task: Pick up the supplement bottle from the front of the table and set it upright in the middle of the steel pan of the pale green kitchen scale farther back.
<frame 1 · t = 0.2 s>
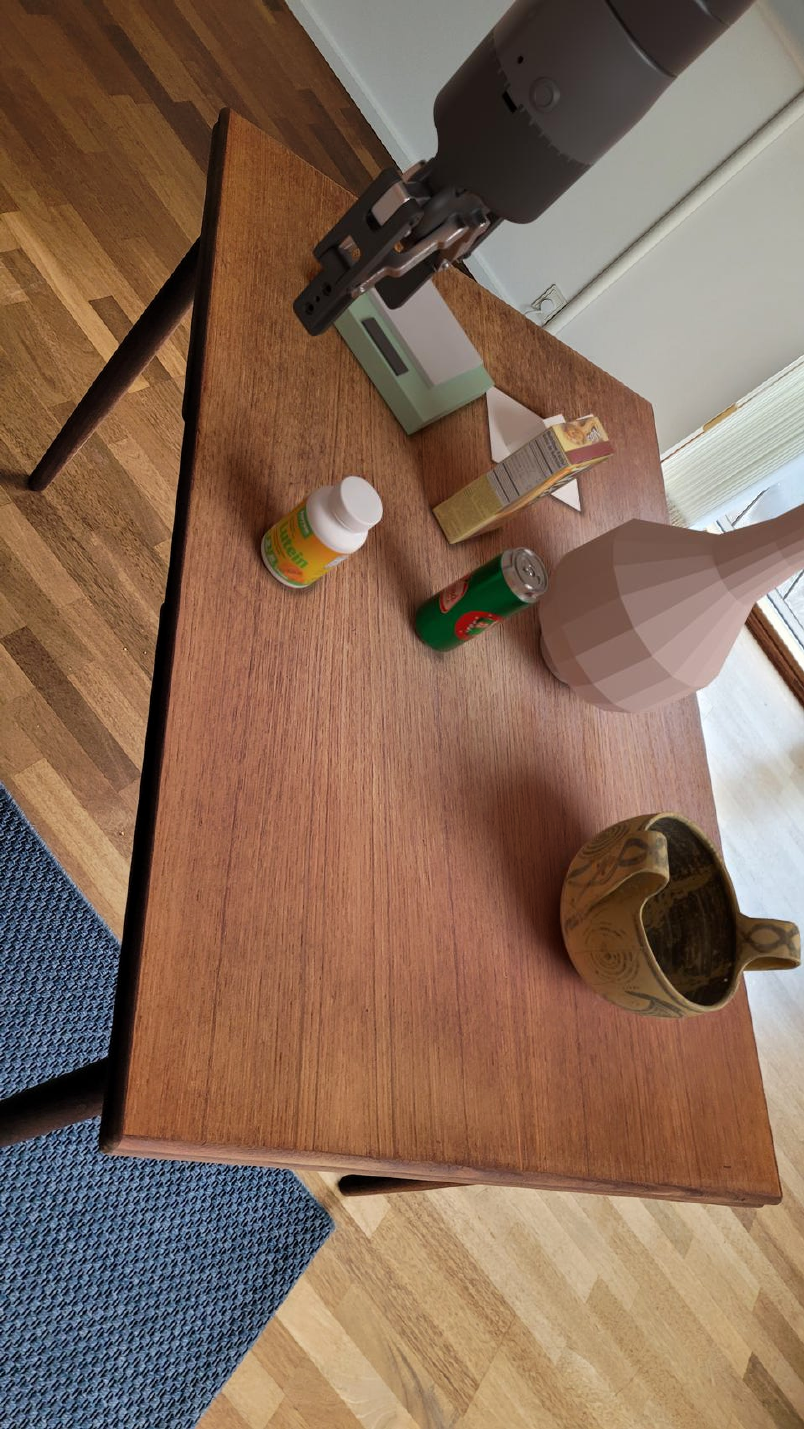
hand: (346, 308, 54), 21 cm above the table, tool pointing down, fingers open, 8 cm apart
supplement bottle: (286, 560, 73), on the table
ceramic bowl: (586, 929, 82), on the table
vase: (559, 655, 94), on the table
napkin holder: (532, 448, 105), on the table
scale: (402, 348, 94), on the table
candy box: (463, 521, 91), on the table
soda can: (430, 629, 82), on the table
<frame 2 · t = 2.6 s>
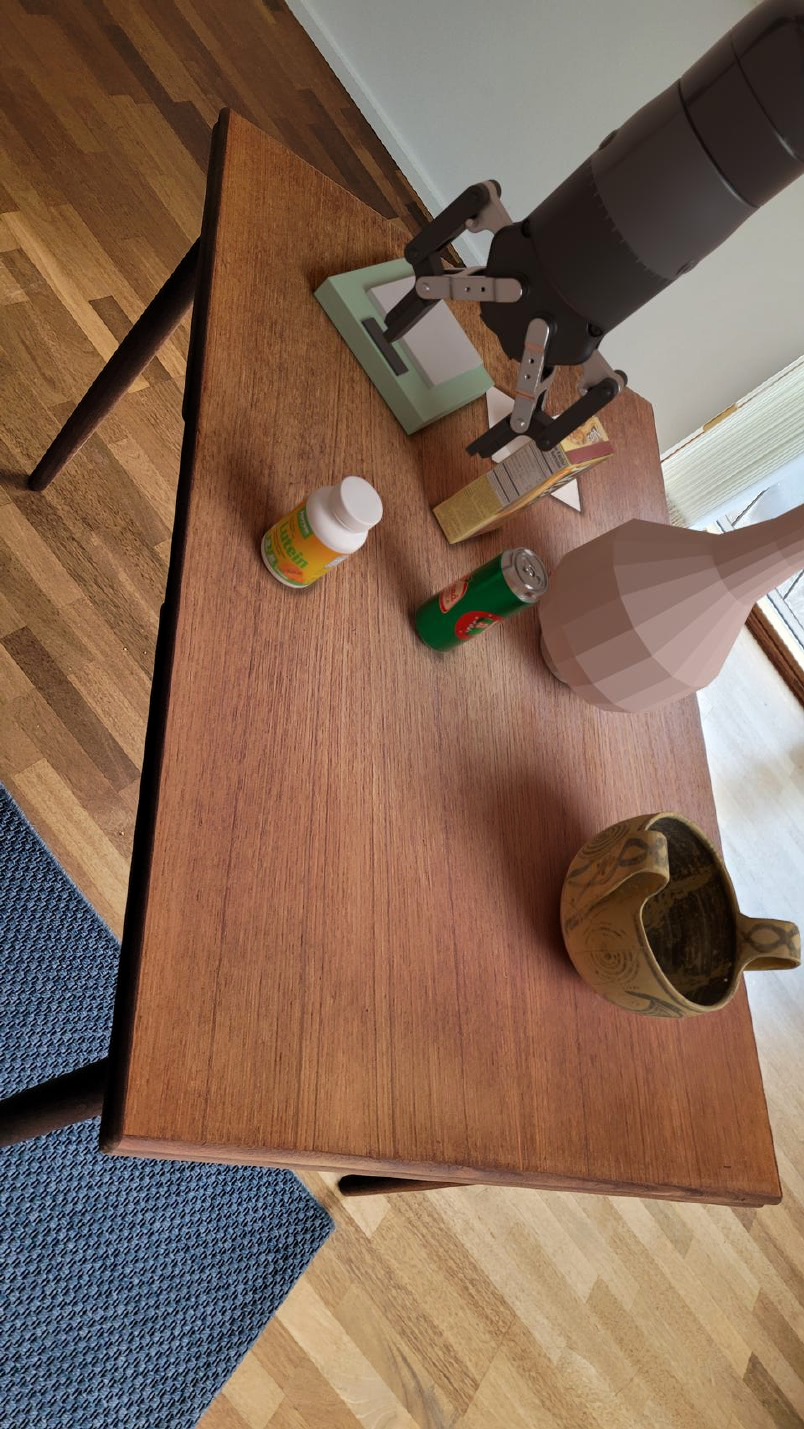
hand: (431, 393, 57), 20 cm above the table, tool pointing down, fingers open, 8 cm apart
nothing on the table moved.
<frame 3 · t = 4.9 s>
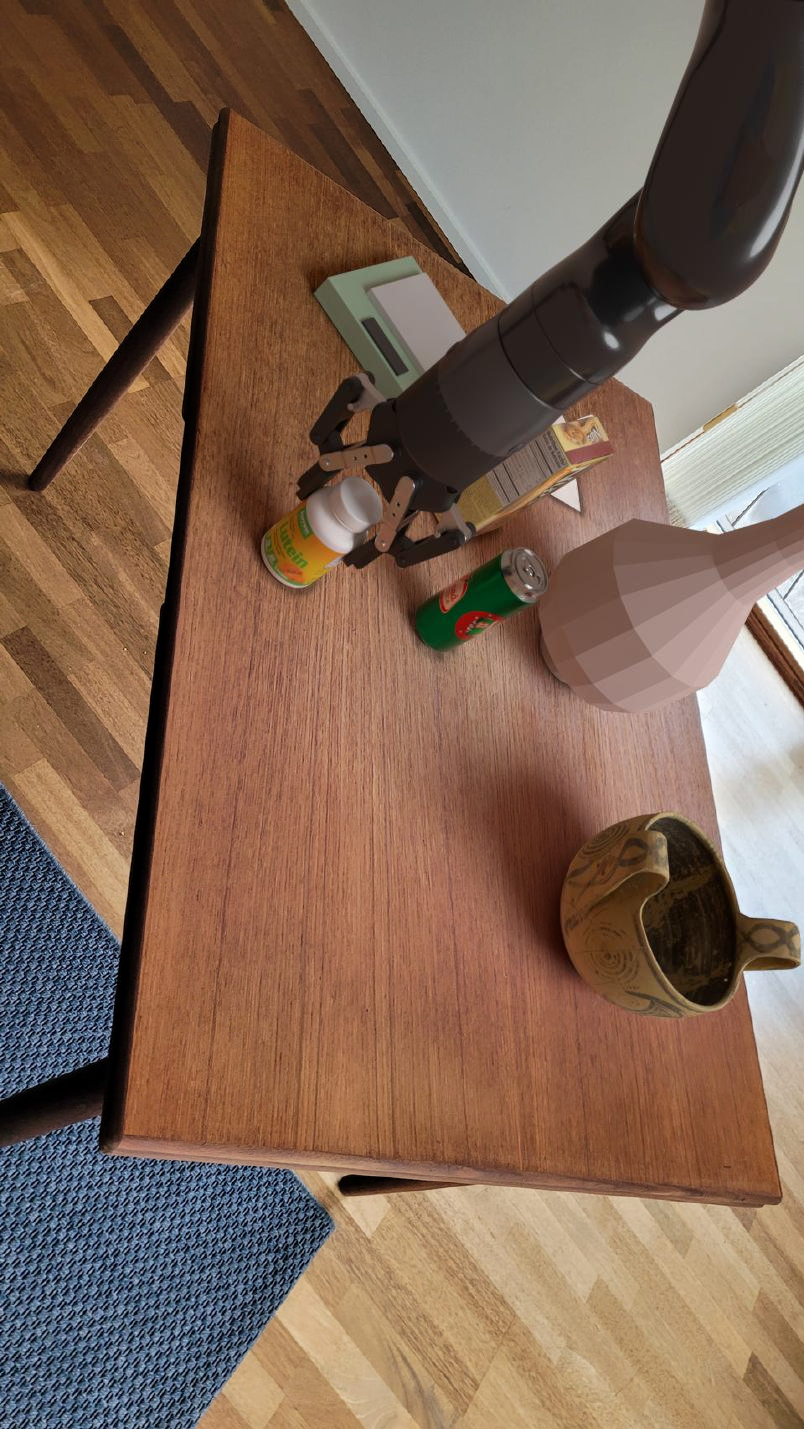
hand: (327, 526, 69), 5 cm above the table, tool pointing down, fingers closed on supplement bottle, 5 cm apart
supplement bottle: (286, 560, 73), on the table, touching gripper
everything else where it was.
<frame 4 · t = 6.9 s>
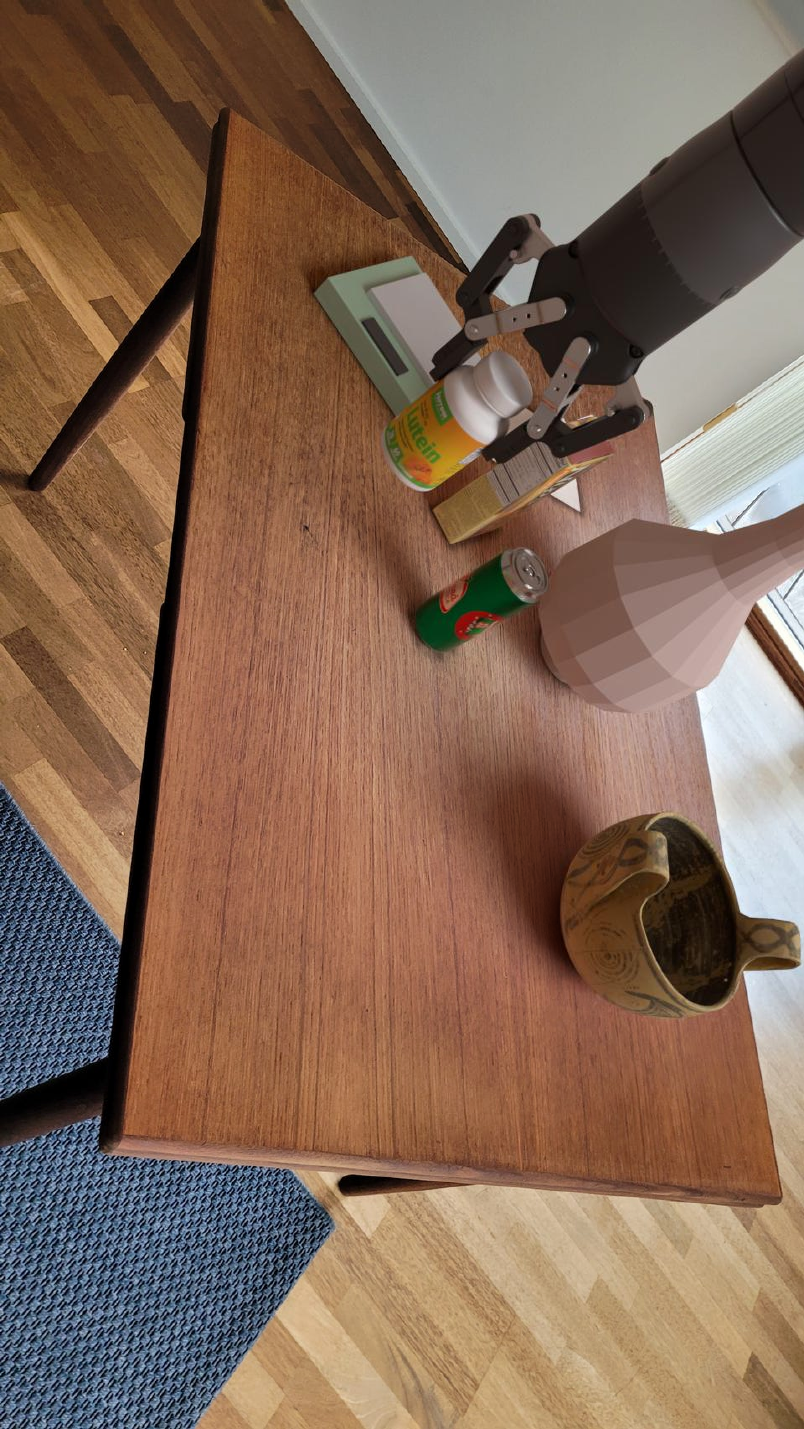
hand: (463, 414, 59), 20 cm above the table, tool pointing down, fingers closed on supplement bottle, 5 cm apart
supplement bottle: (406, 460, 63), point 15 cm above the table, touching gripper
everything else where it was.
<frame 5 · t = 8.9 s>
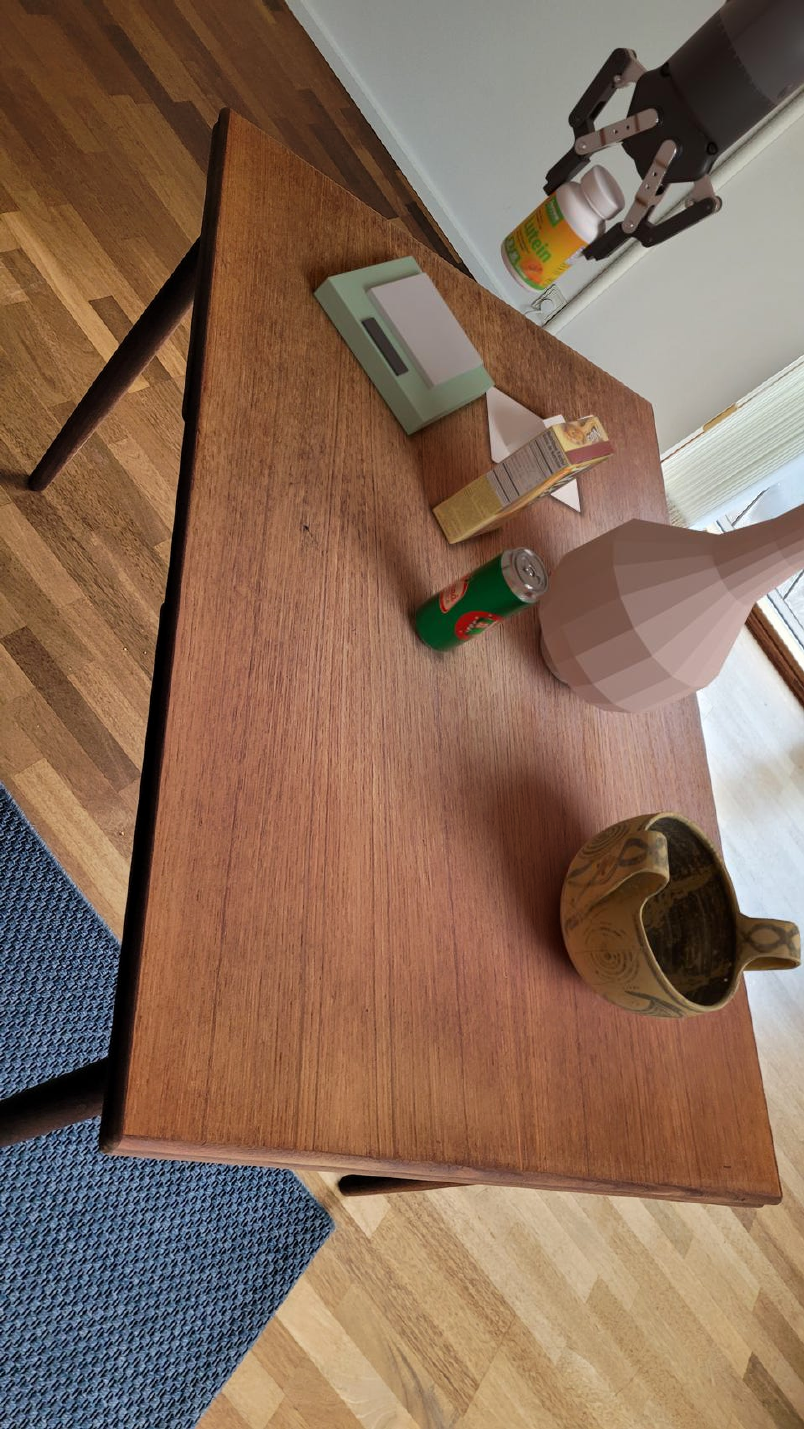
hand: (568, 223, 75), 23 cm above the table, tool pointing down, fingers closed on supplement bottle, 5 cm apart
supplement bottle: (518, 269, 79), point 17 cm above the table, touching gripper
everything else where it was.
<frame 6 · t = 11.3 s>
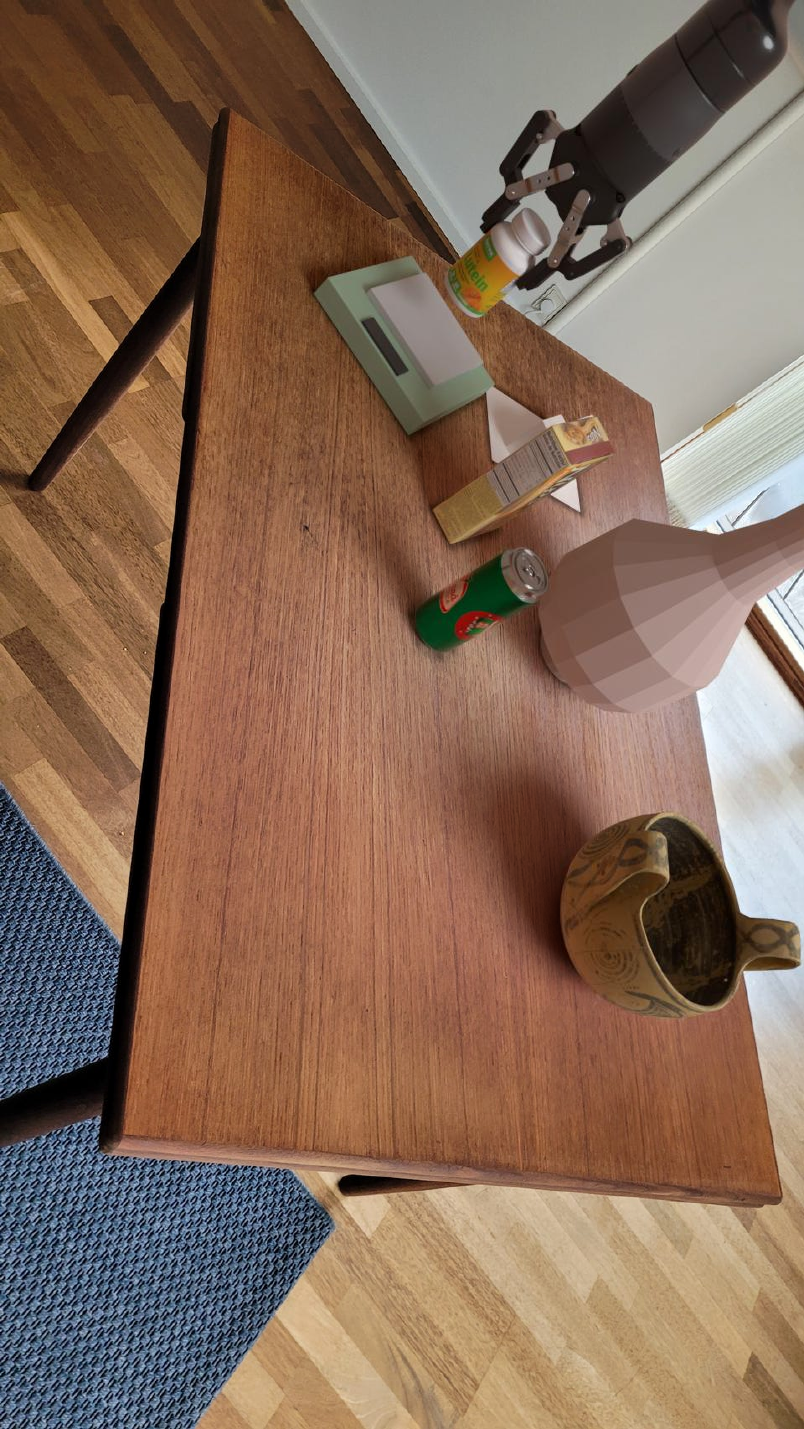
hand: (503, 257, 85), 14 cm above the table, tool pointing down, fingers closed on supplement bottle, 5 cm apart
supplement bottle: (461, 296, 89), point 8 cm above the table, touching gripper
everything else where it was.
when the fingers open (9 cm above the table, at t = 13.0 s): supplement bottle stays where it is, resting on scale.
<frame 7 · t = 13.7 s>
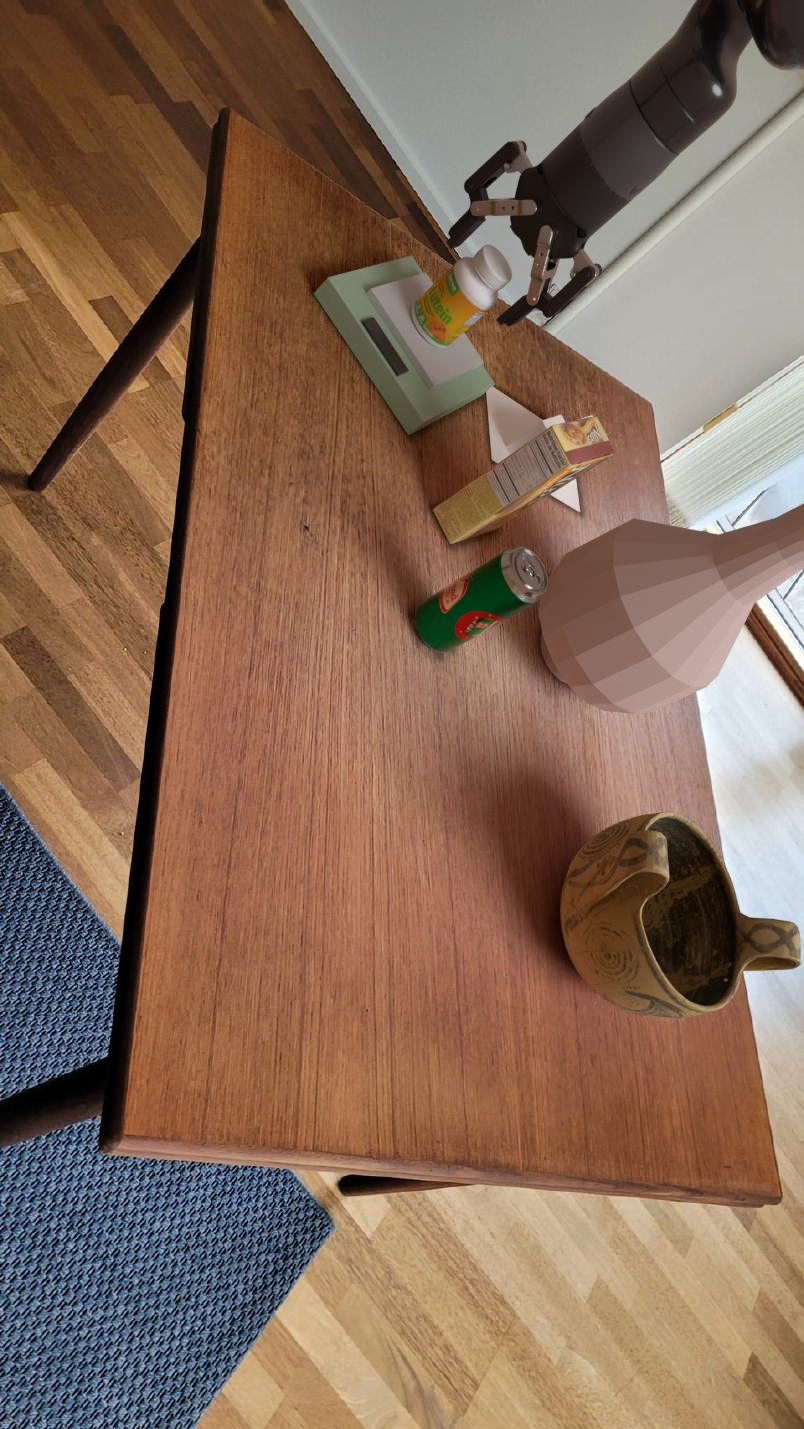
hand: (476, 283, 88), 10 cm above the table, tool pointing down, fingers open, 8 cm apart
supplement bottle: (428, 327, 93), point 3 cm above the table, touching scale
everything else where it was.
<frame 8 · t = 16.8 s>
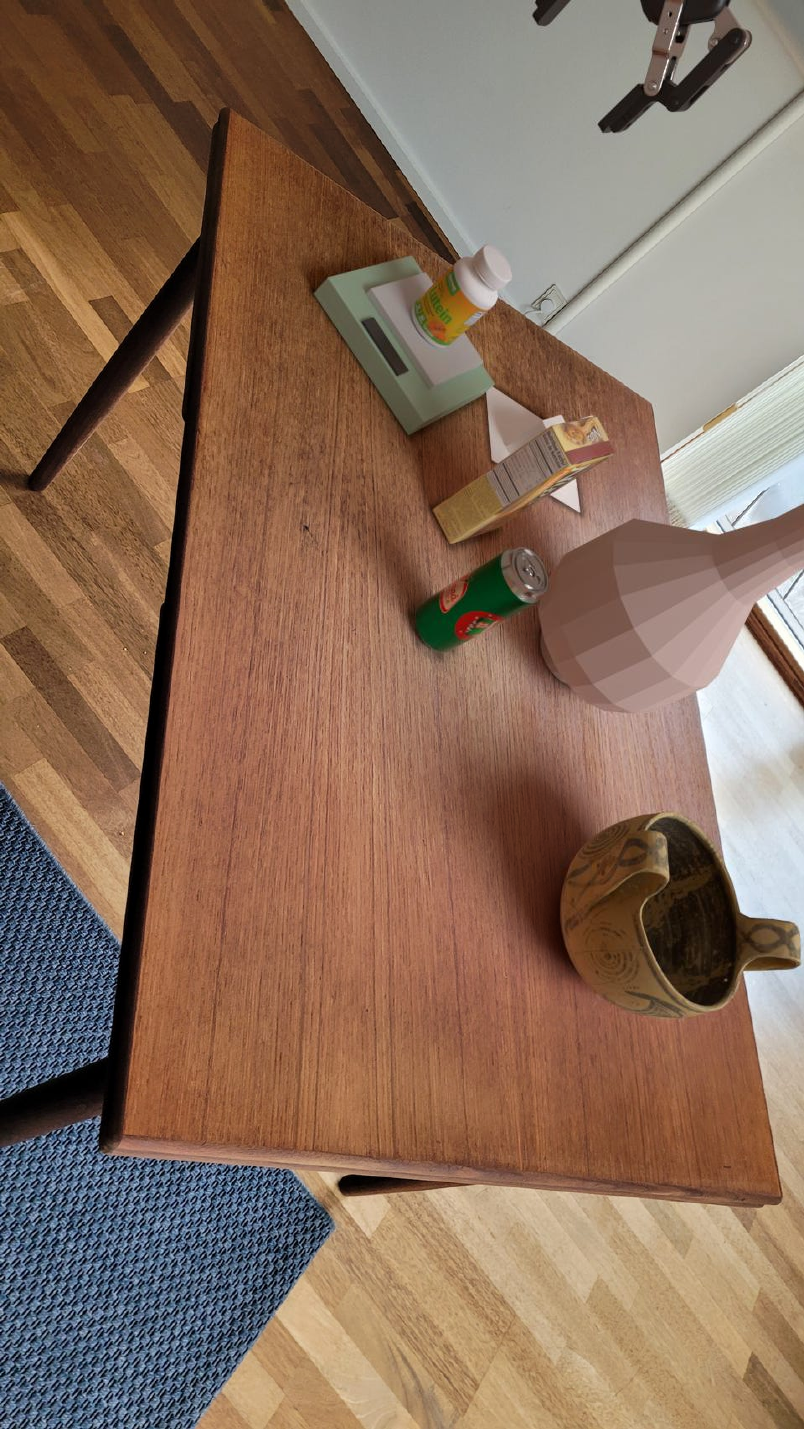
hand: (571, 75, 65), 30 cm above the table, tool pointing down, fingers open, 8 cm apart
nothing on the table moved.
at the end: supplement bottle inside the target area on the scale (0.1 cm from its centre), point 3.0 cm above the scale's base; supplement bottle tilted 0°; the gripper is holding nothing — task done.
